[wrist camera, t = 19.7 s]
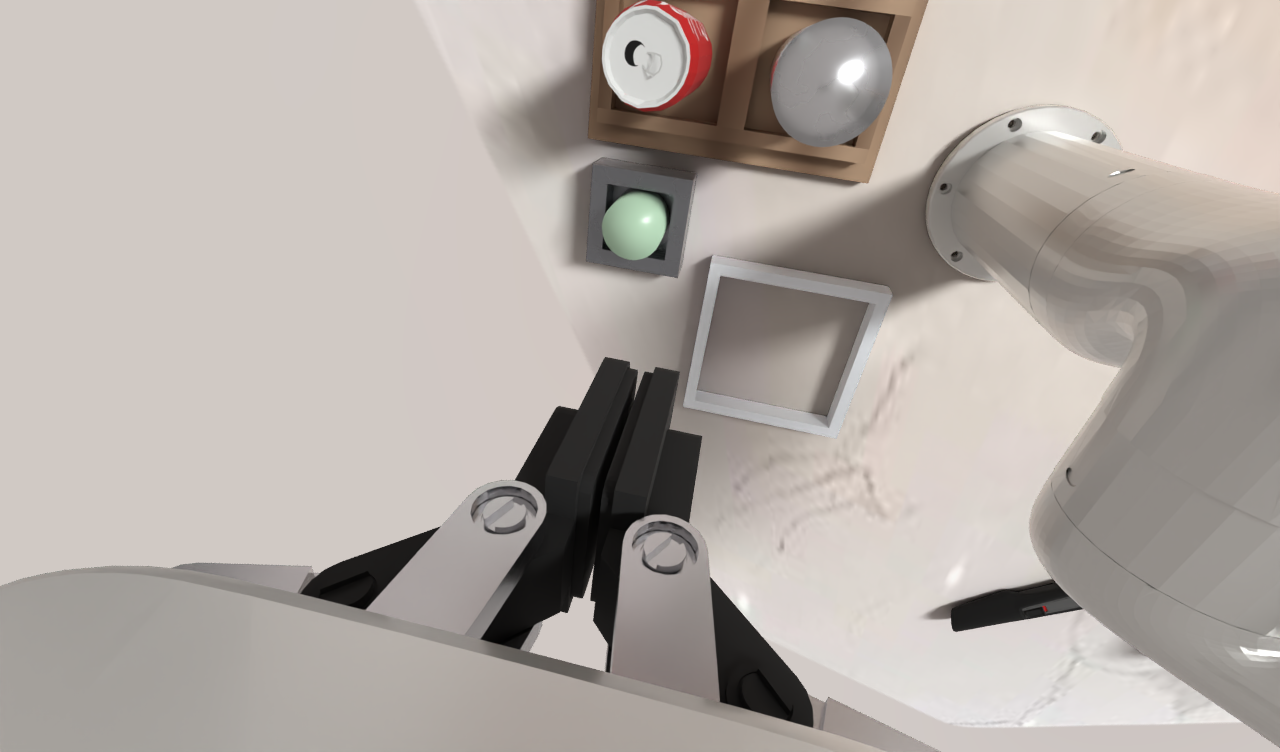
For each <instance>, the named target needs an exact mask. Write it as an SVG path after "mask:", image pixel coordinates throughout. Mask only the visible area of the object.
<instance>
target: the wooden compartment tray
mask: <svg viewBox="0 0 1280 752" xmlns="http://www.w3.org/2000/svg"><path fill="white" fill-rule="evenodd" d="M639 1H645V0H596V16H595V32H594V48H593V64H592V80H591V96H590V112H589V128H588V138H589V139H595V140H601V141H608V142H614V143H620V144H626V145H633V146H639V147H645V148H651V149H657V150H664V151H670V152H676V153H682V154H688V155H695V156H701V157H707V158H713V159H719V160H726V161H732V162H738V163H744V164H750V165H757V166H763V167H769V168H775V169H782V170H788V171H794V172H800V173H806V174H813V175H819V176H825V177H831V178H837V179H844V180H850V181H856V182H862V183H869V180H870V177H871V173H872V170H873V167H874V164H875V161H876V158H877V155H878V152H879V149H880V146H881V143H882V140H883V137H884V134H885V131H886V128H887V125H888V122H889V119H890V116H891V113H892V110H893V107H894V103H895V100H896V97H897V94H898V91H899V88H900V85H901V82H902V79H903V76H904V73H905V70H906V67H907V64H908V61H909V58H910V55H911V52H912V49H913V46H914V43H915V40H916V37H917V33H918V30H919V27H920V24H921V21H922V18H923V15H924V12H925V9H926V6H927V3H928V0H655V1H662V2H665V3H668V4H670V5H672V6H675V7H677V8H679V9H682V10H684V11H686V12H687V13H689V14H690V15H691V16H693V17H694V18H696V19H697V20H699V21H700V22H701V23H703V25H704V28H705V30H706V32H707V35H708V37H709V39H710V41H711V44H712V60H711V66H710V69H709V72H708V74H707V77H706V78H705V80H704V81H703V82H702V84H701V85H700V87H698V88H697V89H696V90H695V91H694V92H692V93H691V94H689V95H688V96H687V97H685V98H684V99H682V100H681V101H679V102H678V103H676V104H675V105H673V106H671V107H668V108H666V109H664V110H661V111H647V112H643V111H641V110H638V109H636V108H634V107H631V106H629V105H626V104H625V103H624V102H623V101H621V99H620V98H619V97H618V96H617V94H616V93H615V92H614V91H613V89H612V88H611V87H610V86H609V84H608V82H607V79H606V77H605V74H604V70H603V64H602V49H603V44H604V40H605V37H606V34H607V31H608V29H609V28H610V26H611V24H612V23H613V21H614V19H615V17H616V16H617V15H619V14H620V13H621V12H622V11H623V10H624V9H625V8H627V7H629V6H631V5H632V4H634V3H636V2H639ZM837 17H846V18H853V19H857V20H859V21H862V22H864V23H866V24H868V25H869V26H871V27H872V28H873V29H875V30H876V31H877V32H878V33H879V35H880V36H881V37H882V38H883V40H884V42H885V43H886V45H887V48H888V50H889V53H890V56H891V61H892V83H891V88H890V92H889V95H888V98H887V100H886V103H885V105H884V107H883V109H882V110H881V112H880V114H879V115H878V117H877V118H876V119H875V120H874V122H873V123H872V124H871V125H870V126H869V127H868V128H867V129H866V130H865V131H863V132H862V133H861V134H859V135H858V136H856V137H855V138H853V139H852V140H849V141H847V142H845V143H842V144H839V145H836V146H830V147H814V146H810V145H806V144H803V143H801V142H799V141H797V140H795V139H794V138H793V137H791V136H790V135H789V134H788V133H787V132H786V131H785V130H784V129H783V127H782V126H781V125H780V123H779V121H778V119H777V117H776V115H775V112H774V109H773V104H772V99H771V92H770V85H769V75H770V69H771V65H772V62H773V60H774V57H775V55H776V53H777V51H778V50H779V48H780V47H781V45H782V44H783V43H784V42H785V41H786V40H787V39H788V38H789V37H790V36H791V35H793V34H794V33H796V32H797V31H799V30H801V29H803V28H805V27H808V26H810V25H813V24H815V23H817V22H820V21H823V20H826V19H830V18H837Z"/></svg>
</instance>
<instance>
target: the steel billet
mask: <svg viewBox="0 0 1280 752" xmlns="http://www.w3.org/2000/svg"><path fill="white" fill-rule="evenodd" d="M891 83H892V61H891V56H890V53H889V50H888V48H887V45H886V43H885V42H884V40H883V38H882V37H881V36H880V35H879V33H878V32H877V31H876V30H875V29H873V28H872V27H871V26H869V25H868V24H866V23H864V22H862V21H859V20H857V19H853V18H846V17H837V18H830V19H826V20H823V21H820V22H817V23H815V24H813V25H810V26H808V27H805V28H803V29H801V30H799V31H797V32H796V33H794V34H793V35H791V36H790V37H789V38H788V39H787V40H786V41H785V42H784V43H783V44H782V45H781V47H780V48H779V50H778V51H777V53H776V55H775V57H774V60H773V62H772V65H771V69H770V75H769V85H770V92H771V99H772V104H773V109H774V112H775V115H776V117H777V119H778V121H779V123H780V125H781V126H782V127H783V129H784V130H785V131H786V132H787V133H788V134H789V135H790V136H791V137H793V138H794V139H795V140H797V141H799V142H801V143H803V144H806V145H810V146H814V147H830V146H836V145H839V144H842V143H845V142H847V141H849V140H852V139H853V138H855V137H856V136H858V135H859V134H861V133H862V132H863V131H865V130H866V129H867V128H868V127H869V126H870V125H871V124H872V123H873V122H874V120H875V119H876V118H877V117H878V115H879V114H880V112H881V110H882V109H883V107H884V105H885V103H886V100H887V98H888V95H889V92H890V88H891Z"/></svg>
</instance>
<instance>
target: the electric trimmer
mask: <svg viewBox="0 0 1280 752" xmlns="http://www.w3.org/2000/svg"><path fill="white" fill-rule="evenodd" d="M1081 609H1083V608H1082V607H1080V606H1079V605H1078V604H1077V603H1076V602H1075V601H1074V600H1073V599H1072V598H1071V597H1070V596H1069V595H1068V594H1066V593H1065V592H1064V591H1063V590H1062V589H1061V587H1060V586H1059V585H1058V584H1057V583H1054V584H1049V585H1045V586H1041V587H1037V588H1033V589H1029V590H1025V591H1020V592H1014V591H1009V590H1004V591H1001V592H998V593H995V594H992V595H989V596H986V597H983V598H980V599H977V600H974V601H972V602H969V603H966V604H963V605H960V606H957V607H955V608H953V609H952V611H951V624H952V629H953V631H955V632H958V631H963V630H969V629H974V628H980V627H985V626H991V625H996V624H1001V623H1007V622H1013V621H1019V620H1025V619H1032V618H1037V617H1043V616H1048V615H1053V614H1059V613H1064V612H1070V611H1075V610H1081Z"/></svg>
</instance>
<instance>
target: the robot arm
mask: <svg viewBox="0 0 1280 752" xmlns="http://www.w3.org/2000/svg"><path fill="white" fill-rule="evenodd" d="M1011 120H1013V121H1014V124H1013V125H1012V126H1011V127H1008V123H1009V122H1010V121H1011ZM1095 132H1096V136H1095V137H1094V138H1093V139H1091V138H1092V136H1093V134H1094V133H1095ZM944 183H945V184H946V187H945V188H944V189H940V186H941V185H942V184H944ZM926 224H927V230H928V235H929V237H930V239H931V241H932V244H933V246H934V248H935V249H936V250H937V252H938V253H939V254H940V256H941V257H942V258H943V259H944V260H945V261H946V262H947V263H948V264H949V265H950V266H951V267H953V268H954V269H956V270H958V271H959V272H961V273H962V274H965V275H968V276H970V277H973V278H975V279H980V280H986V281H992V282H998V283H999V284H1000V285H1001V286H1002V287H1003V288H1004V289H1005V290H1006V291H1007V292H1008V293H1009V294H1010V295H1011V296H1012V297H1013V298H1014V299H1015V300H1016V301H1017V302H1018V303H1019V304H1020V305H1021V306H1022V307H1023V308H1024V309H1025V310H1026V311H1027V312H1028V313H1029V314H1030V315H1031V316H1032V317H1033V318H1034V319H1035V320H1036V321H1037V322H1038V323H1039V324H1040V325H1041V326H1042V327H1043V328H1044V329H1045V330H1046V331H1047V332H1048V333H1049V334H1050V335H1051V336H1052V337H1053V338H1054V339H1055V340H1057V341H1058V342H1059V343H1060V344H1061V345H1063V346H1064V347H1065V348H1067V349H1068V350H1070V351H1071V352H1073V353H1075V354H1077V355H1079V356H1081V357H1083V358H1085V359H1088V360H1090V361H1093V362H1097V363H1100V364H1104V365H1109V366H1113V367H1118V368H1121V369H1120V370H1119V372H1118V374H1117V375H1116V377H1115V378H1114V379H1113V381H1112V382H1111V384H1110V385H1109V387H1108V388H1107V390H1106V391H1105V393H1104V394H1103V396H1102V400H1101V401H1100V403H1099V404H1098V406H1097V407H1096V409H1095V410H1094V412H1093V413H1092V415H1091V416H1090V417H1089V419H1088V420H1087V422H1086V423H1085V425H1084V426H1083V428H1082V429H1081V431H1080V432H1079V433H1078V435H1077V436H1076V438H1075V439H1074V441H1073V442H1072V444H1071V445H1070V447H1069V448H1068V449H1067V451H1066V452H1065V454H1064V455H1063V457H1062V458H1061V460H1060V461H1059V463H1058V464H1057V465H1056V467H1055V468H1054V471H1053V472H1052V474H1051V475H1050V477H1049V478H1048V480H1047V481H1046V483H1045V484H1044V486H1043V488H1042V490H1041V491H1040V493H1039V495H1038V497H1037V499H1036V500H1035V503H1034V505H1033V508H1032V512H1031V516H1030V521H1029V532H1030V537H1031V542H1032V545H1033V548H1034V550H1035V552H1036V554H1037V556H1038V558H1039V560H1040V562H1041V564H1042V565H1043V566H1044V568H1045V569H1046V571H1047V572H1048V573H1049V575H1050V576H1051V577H1052V578H1053V580H1054V581H1055V582H1056V583H1057V584H1058V585H1059V586H1060V587H1061V589H1062V590H1063V591H1064V592H1065V593H1066V594H1068V595H1069V596H1070V597H1071V598H1072V599H1073V600H1074V601H1075V602H1076V603H1077V604H1078V605H1079V606H1080V607H1082V608H1083V609H1084V610H1085V611H1087V612H1088V613H1089V614H1090V615H1091V616H1093V617H1094V618H1095V619H1096V620H1098V621H1099V622H1100V623H1101V624H1103V625H1104V626H1105V627H1106V628H1108V629H1109V630H1110V631H1112V632H1113V633H1115V634H1116V635H1117V636H1119V637H1120V638H1121V639H1123V640H1124V641H1125V642H1127V643H1128V644H1130V645H1131V646H1133V647H1134V648H1135V649H1137V650H1138V651H1140V652H1141V653H1143V654H1144V655H1145V656H1147V657H1148V658H1150V659H1151V660H1153V661H1154V662H1156V663H1157V664H1158V665H1160V666H1161V667H1163V668H1164V669H1166V670H1167V671H1168V672H1170V673H1171V674H1173V675H1174V676H1176V677H1177V678H1179V679H1180V680H1182V681H1183V682H1185V683H1186V684H1187V685H1189V686H1190V687H1192V688H1193V689H1195V690H1196V691H1198V692H1199V693H1201V694H1202V695H1204V696H1205V697H1206V698H1208V699H1209V700H1211V701H1212V702H1214V703H1215V704H1217V705H1218V706H1220V707H1221V708H1223V709H1224V710H1225V711H1227V712H1228V713H1230V714H1231V715H1233V716H1234V717H1236V718H1237V719H1239V720H1240V721H1241V722H1243V723H1244V724H1246V725H1248V726H1249V727H1250V728H1252V729H1253V730H1255V731H1256V732H1258V733H1259V734H1260V735H1262V736H1263V737H1265V738H1266V739H1268V740H1269V741H1271V742H1272V743H1274V744H1275V745H1277V746H1278V747H1279V748H1280V194H1279V193H1274V192H1269V191H1265V190H1260V189H1256V188H1252V187H1249V186H1245V185H1241V184H1237V183H1234V182H1230V181H1227V180H1223V179H1220V178H1216V177H1213V176H1209V175H1206V174H1201V173H1197V172H1193V171H1190V170H1187V169H1183V168H1180V167H1176V166H1173V165H1170V164H1166V163H1163V162H1159V161H1156V160H1153V159H1149V158H1146V157H1143V156H1139V155H1136V154H1132V153H1129V152H1126V151H1123V149H1122V146H1121V143H1120V141H1119V140H1118V138H1117V137H1116V135H1115V133H1114V132H1113V130H1112V129H1111V128H1110V127H1109V126H1108V125H1106V124H1105V123H1104V122H1103V121H1102V120H1101V119H1100V118H1098V117H1096V116H1094V115H1092V114H1090V113H1088V112H1086V111H1083V110H1080V109H1076V108H1072V107H1068V106H1060V105H1036V106H1030V107H1025V108H1021V109H1017V110H1013V111H1010V112H1008V113H1006V114H1003V115H1001V116H998V117H996V118H994V119H992V120H990V121H989V122H987V123H985V124H984V125H982V126H980V127H979V128H977V129H976V130H974V131H973V132H972V133H971V134H970V135H968V136H967V137H966V138H965V139H964V140H962V141H961V142H960V143H959V144H958V145H957V146H956V148H955V149H954V150H953V151H952V152H951V153H950V154H949V155H948V156H947V158H946V159H945V161H944V162H943V164H942V166H941V167H940V169H939V170H938V172H937V174H936V176H935V178H934V180H933V183H932V185H931V187H930V191H929V195H928V199H927V203H926ZM955 251H957V253H956V254H955V255H953V256H951V255H952V253H953V252H955ZM679 373H680V372H678V371H673V370H668V369H663V368H658V367H655V370H654V373H650V372H644V375H643V378H642V380H641V383H640V386H639V389H638V391H637V394H636V397H635V390H636V382H637V375H638V370H635V369H630V362H628V361H623V360H618V359H613V358H608V357H605V358H604V360H603V362H602V364H601V366H600V368H599V370H598V372H597V374H596V376H595V378H594V380H593V382H592V384H591V386H590V388H589V390H588V392H587V394H586V396H585V398H584V400H583V402H582V404H581V406H580V408H579V410H576V409H571V408H566V407H561V406H559V407H557V408H556V409H555V411H554V413H553V414H552V416H551V418H550V419H549V421H548V423H547V425H546V426H545V428H544V430H543V432H542V433H541V435H540V437H539V439H538V441H537V442H536V444H535V446H534V448H533V449H532V451H531V453H530V455H529V456H528V458H527V460H526V462H525V463H524V465H523V467H522V469H521V470H520V472H519V474H518V476H517V477H516V479H515V480H501V481H496V482H492V483H488V484H486V485H484V486H482V487H479V488H477V489H476V490H475V491H474V492H472V494H470V495H469V496H468V497H467V498H466V499H465V500H464V501H463V502H462V504H461V505H460V506H459V507H458V508H457V509H456V510H455V511H454V512H453V514H452V515H451V516H450V517H449V518H448V519H447V520H446V521H445V522H444V524H443V525H442V526H441V527H438V528H435V529H432V530H430V531H427V532H424V533H421V534H418V535H415V536H413V537H410V538H407V539H404V540H401V541H399V542H396V543H393V544H390V545H387V546H385V547H382V548H379V549H376V550H373V551H371V552H368V553H365V554H363V555H359V556H357V557H354V558H351V559H348V560H345V561H343V562H340V563H338V564H336V565H333V566H331V567H329V568H327V569H325V570H324V571H322V572H321V573H314V572H313V569H312V566H285V565H254V564H253V565H252V564H220V563H192V564H183V565H179V566H177V567H173V568H162V567H152V566H105V567H94V568H83V569H72V570H63V571H57V572H51V573H45V574H40V575H36V576H32V577H27V578H23V579H20V580H17V581H14V582H11V583H8V584H5V585H2V586H0V752H941V751H938V750H937V749H935V748H932V747H930V746H928V745H926V744H924V743H922V742H920V741H918V740H916V739H914V738H912V737H910V736H908V735H906V734H904V733H902V732H899V731H898V730H895V729H893V728H891V727H889V726H887V725H885V724H883V723H881V722H879V721H877V720H875V719H873V718H871V717H869V716H867V715H865V714H862V713H861V712H858V711H856V710H854V709H852V708H850V707H848V706H846V705H844V704H842V703H840V702H838V701H836V700H833V699H831V698H830V697H828V699H827V700H826V702H823V701H821V700H819V699H817V698H814V697H812V696H810V695H808V693H807V691H806V689H805V688H804V686H803V685H802V684H801V682H800V681H799V679H798V678H797V676H796V675H795V674H794V673H793V672H792V671H791V670H790V668H789V667H788V666H787V665H786V664H785V663H784V661H783V660H782V659H781V658H780V657H779V656H778V655H777V653H776V652H775V651H774V650H773V649H772V648H771V646H769V644H768V643H767V642H766V641H765V640H764V638H763V637H762V636H761V635H760V634H759V633H758V631H757V630H756V629H755V628H754V627H753V626H752V625H751V623H750V622H749V621H748V620H747V619H746V618H745V616H744V615H743V614H742V613H741V612H740V611H739V610H738V608H737V607H736V606H735V605H734V604H733V603H732V601H731V600H730V599H729V598H728V597H727V596H726V595H725V593H724V592H723V591H722V590H721V589H720V588H719V586H718V585H717V584H716V583H715V582H714V581H713V580H712V578H711V577H710V571H709V558H708V550H707V546H706V542H705V540H704V538H703V537H702V535H701V534H700V532H699V531H698V530H697V529H696V528H694V527H693V526H692V525H691V524H690V523H689V518H690V512H691V505H692V499H693V492H694V486H695V479H696V473H697V467H698V460H699V454H700V447H701V440H702V436H699V435H694V434H689V433H684V432H680V431H675V430H670V429H669V428H670V423H671V417H672V412H673V406H674V401H675V396H676V390H677V385H678V379H679ZM634 397H635V400H634ZM593 566H594V571H593V580H592V589H591V601H594V602H595V610H594V618H593V621H594V623H595V624H596V626H597V627H598V629H599V631H600V632H601V634H602V635H603V637H604V639H605V640H606V642H607V643H608V646H607V653H606V663H605V672H603V671H600V670H596V669H592V668H588V667H584V666H580V665H576V664H572V663H568V662H565V661H561V660H557V659H553V658H549V657H546V656H542V655H537V654H533V653H530V652H529V651H530V649H531V648H532V646H533V644H534V642H535V640H536V639H537V637H538V635H539V632H540V629H541V627H542V621H543V620H545V619H547V618H549V617H551V616H553V615H555V614H557V613H559V612H560V611H562V612H565V613H568V610H569V607H570V604H571V602H572V599H573V596H574V597H578V598H583V596H584V593H585V591H586V587H587V584H588V581H589V578H590V575H591V572H592V569H593Z"/></svg>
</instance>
